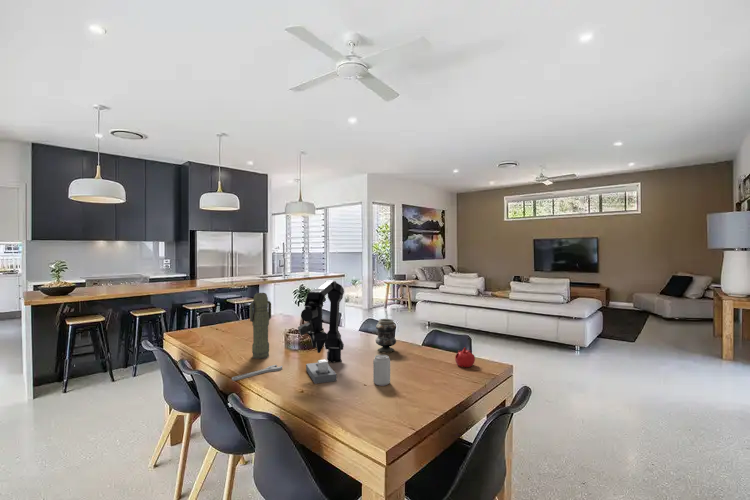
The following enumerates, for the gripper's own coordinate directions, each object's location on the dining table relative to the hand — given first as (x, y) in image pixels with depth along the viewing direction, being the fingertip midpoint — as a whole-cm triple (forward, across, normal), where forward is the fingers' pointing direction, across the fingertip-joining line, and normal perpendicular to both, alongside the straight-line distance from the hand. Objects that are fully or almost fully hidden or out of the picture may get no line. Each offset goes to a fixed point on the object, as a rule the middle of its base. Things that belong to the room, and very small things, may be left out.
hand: (316, 350), depth 177 cm
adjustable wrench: (+12, -13, -26) cm, 31 cm away
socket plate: (+12, +2, +2) cm, 12 cm away
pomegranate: (+12, +16, +73) cm, 76 cm away
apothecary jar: (+13, -25, +47) cm, 55 cm away
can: (+12, +22, +24) cm, 35 cm away
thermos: (+12, -41, -21) cm, 48 cm away
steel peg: (+12, +6, +1) cm, 13 cm away
